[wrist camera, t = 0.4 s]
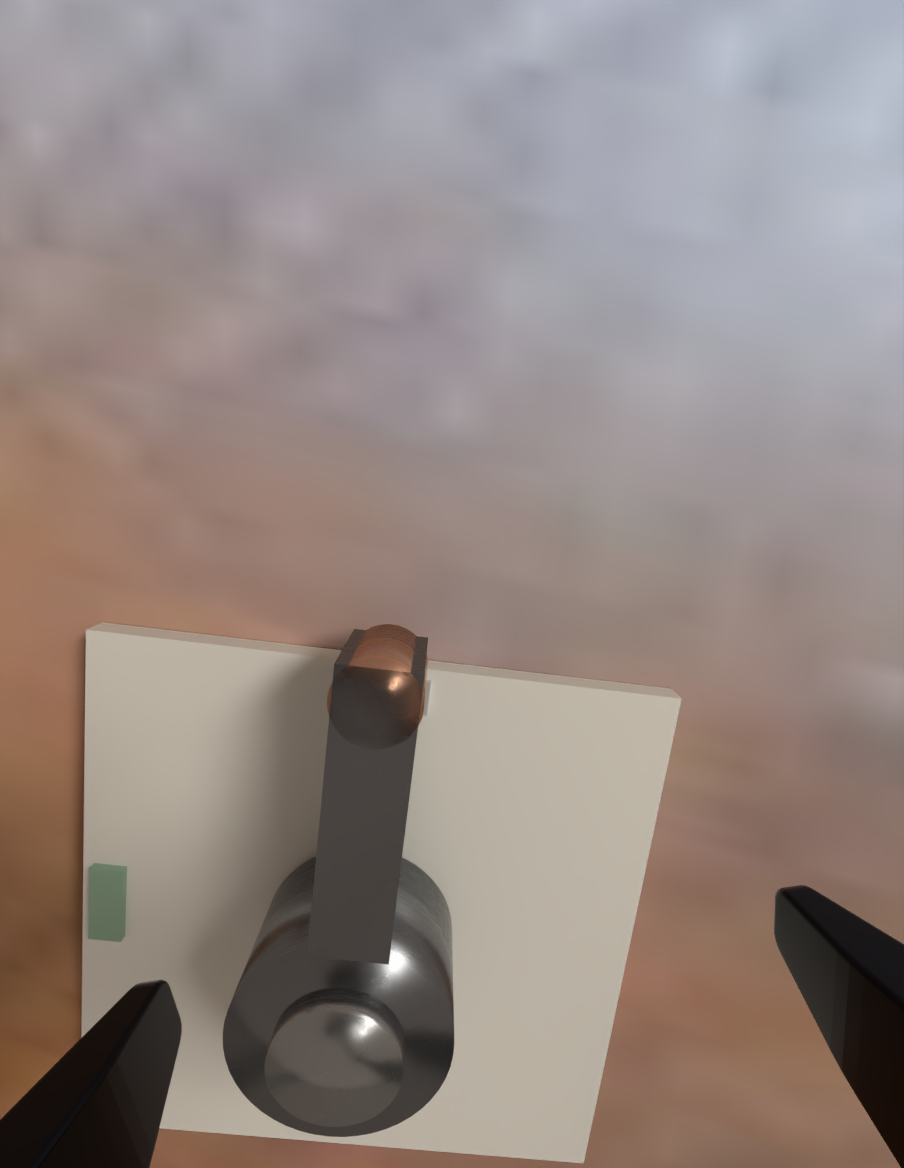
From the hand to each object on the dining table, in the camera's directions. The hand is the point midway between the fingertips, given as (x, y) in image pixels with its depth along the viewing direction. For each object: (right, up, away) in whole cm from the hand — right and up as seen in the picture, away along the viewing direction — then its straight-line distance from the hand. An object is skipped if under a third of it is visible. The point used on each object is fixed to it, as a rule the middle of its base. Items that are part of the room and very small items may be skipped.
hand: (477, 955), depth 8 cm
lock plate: (-4, -8, +15) cm, 17 cm away
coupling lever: (-3, -3, +12) cm, 13 cm away
